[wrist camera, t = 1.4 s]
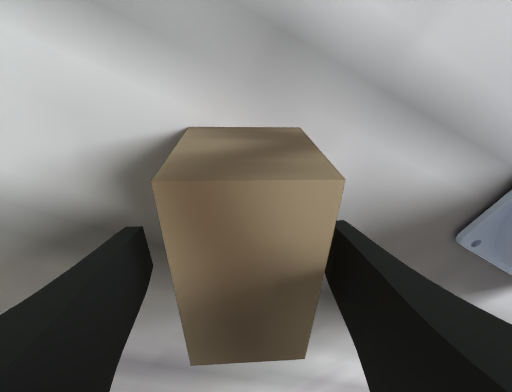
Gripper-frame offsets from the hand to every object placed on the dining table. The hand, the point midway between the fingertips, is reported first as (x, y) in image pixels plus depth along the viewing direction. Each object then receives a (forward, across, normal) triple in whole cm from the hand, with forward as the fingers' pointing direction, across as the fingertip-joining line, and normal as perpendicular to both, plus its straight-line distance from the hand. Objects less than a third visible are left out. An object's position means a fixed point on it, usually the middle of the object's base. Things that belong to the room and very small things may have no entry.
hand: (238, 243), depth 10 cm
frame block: (+3, 0, 0) cm, 3 cm away
